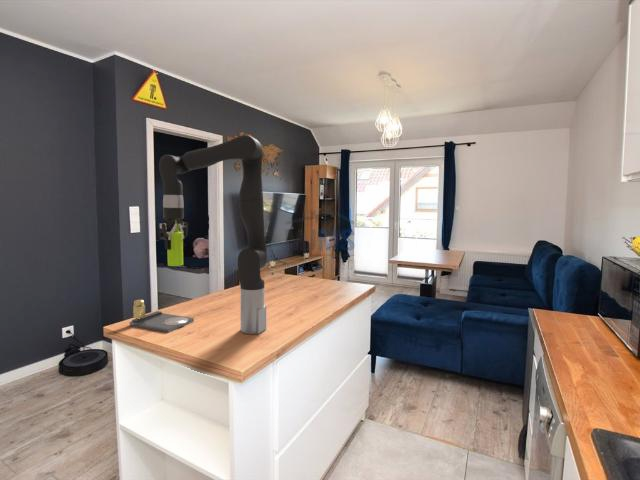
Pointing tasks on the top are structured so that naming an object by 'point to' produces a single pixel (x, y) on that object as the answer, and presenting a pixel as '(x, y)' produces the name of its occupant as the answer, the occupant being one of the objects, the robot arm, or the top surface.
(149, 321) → the plate
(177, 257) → the soap dispenser
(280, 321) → the top surface
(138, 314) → the press lever
